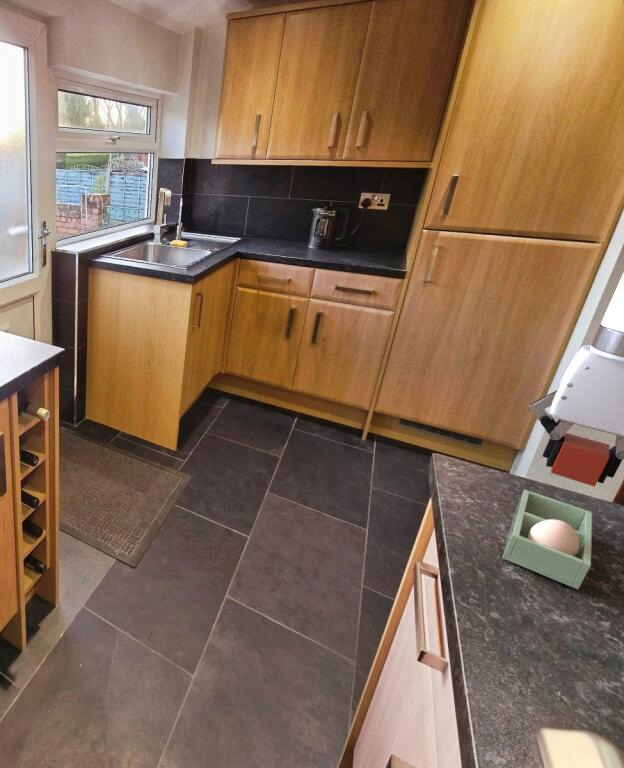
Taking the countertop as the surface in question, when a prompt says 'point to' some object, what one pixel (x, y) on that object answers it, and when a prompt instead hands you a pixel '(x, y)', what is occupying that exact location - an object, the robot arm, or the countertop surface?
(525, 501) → the tray
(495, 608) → the countertop surface
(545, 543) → the egg
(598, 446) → the block
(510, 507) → the countertop surface
